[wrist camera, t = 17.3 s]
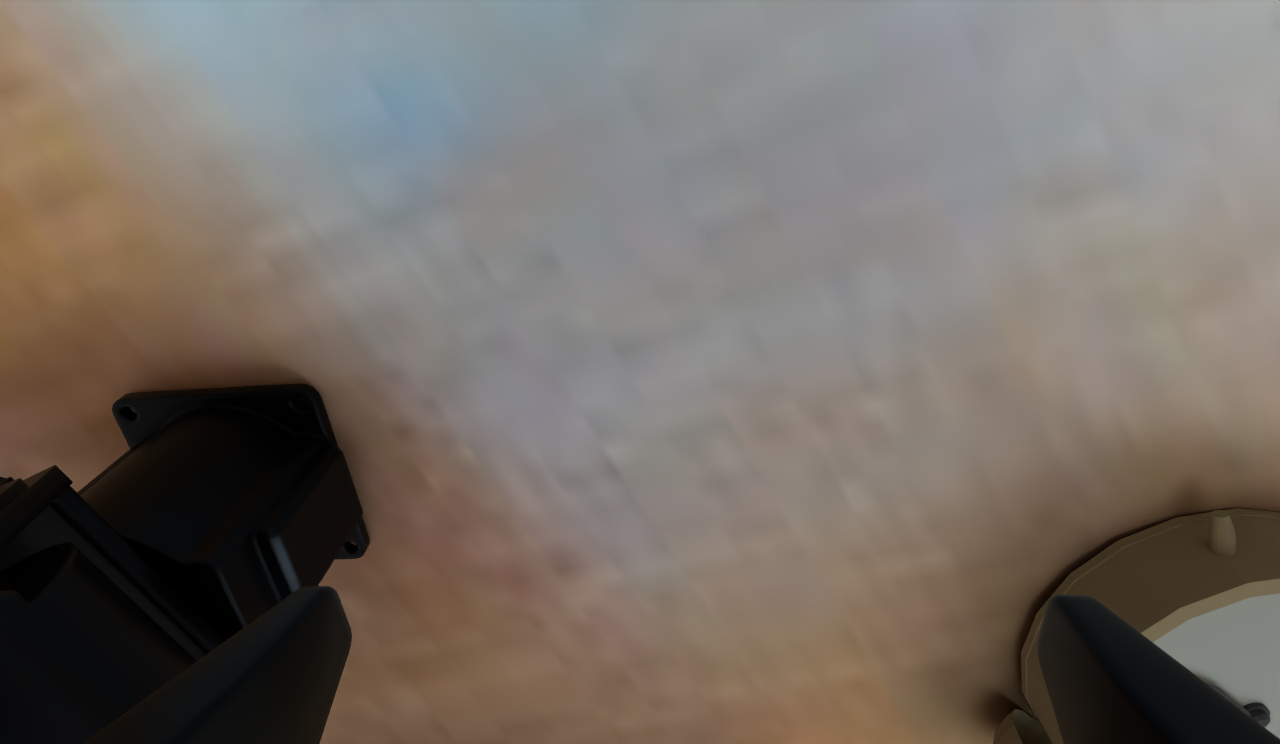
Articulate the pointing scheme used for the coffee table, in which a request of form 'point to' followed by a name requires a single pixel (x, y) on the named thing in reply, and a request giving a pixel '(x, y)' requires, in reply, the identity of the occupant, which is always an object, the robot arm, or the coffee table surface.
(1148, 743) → the robot arm
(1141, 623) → the alarm clock
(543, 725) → the coffee table surface
